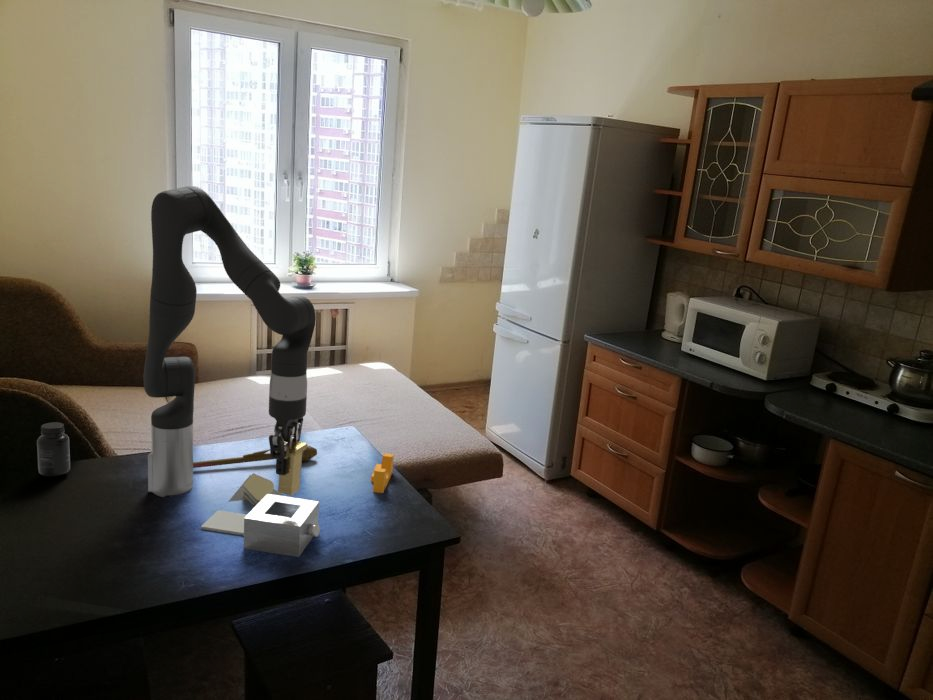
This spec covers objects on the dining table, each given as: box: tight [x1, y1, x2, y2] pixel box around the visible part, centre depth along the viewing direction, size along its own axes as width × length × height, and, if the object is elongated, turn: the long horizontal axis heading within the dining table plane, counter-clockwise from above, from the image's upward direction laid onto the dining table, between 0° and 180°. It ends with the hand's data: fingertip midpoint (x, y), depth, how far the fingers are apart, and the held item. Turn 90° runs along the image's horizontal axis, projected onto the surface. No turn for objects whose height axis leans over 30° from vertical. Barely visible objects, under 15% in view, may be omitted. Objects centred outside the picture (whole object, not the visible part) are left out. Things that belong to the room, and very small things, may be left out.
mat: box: [200, 509, 248, 537], centre depth 158 cm, size 10×8×1 cm
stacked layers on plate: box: [227, 473, 285, 507], centre depth 169 cm, size 10×9×6 cm
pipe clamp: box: [370, 452, 394, 494], centre depth 185 cm, size 12×4×6 cm, turn 175°
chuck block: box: [243, 494, 321, 558], centre depth 153 cm, size 14×12×7 cm
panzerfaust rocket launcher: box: [193, 444, 318, 469], centre depth 189 cm, size 5×35×5 cm, turn 113°
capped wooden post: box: [277, 441, 308, 497], centre depth 150 cm, size 4×4×11 cm
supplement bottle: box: [36, 421, 71, 477], centre depth 174 cm, size 7×7×12 cm
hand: (285, 469), depth 151 cm, fingers closed on capped wooden post, 3 cm apart
